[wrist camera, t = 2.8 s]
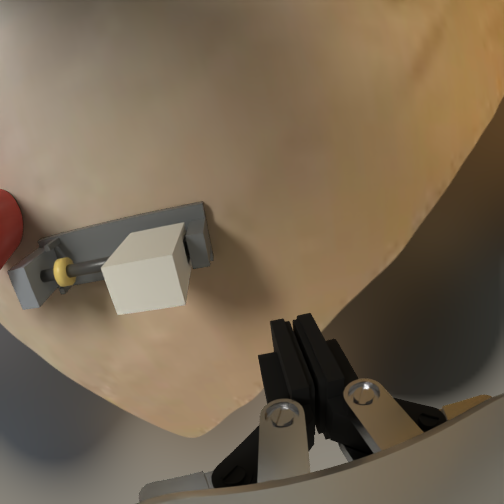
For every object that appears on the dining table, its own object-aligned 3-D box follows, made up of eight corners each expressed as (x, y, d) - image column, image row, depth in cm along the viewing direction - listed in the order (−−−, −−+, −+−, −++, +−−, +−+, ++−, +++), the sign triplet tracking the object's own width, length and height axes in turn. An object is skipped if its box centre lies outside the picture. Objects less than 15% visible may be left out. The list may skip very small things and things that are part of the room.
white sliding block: (140, 270, 26) (117, 314, 19) (130, 233, 25) (100, 267, 18) (192, 260, 26) (185, 305, 19) (184, 222, 25) (172, 254, 18)
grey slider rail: (54, 285, 28) (26, 316, 22) (38, 239, 26) (4, 263, 20) (213, 256, 29) (213, 289, 23) (202, 201, 27) (198, 219, 21)
